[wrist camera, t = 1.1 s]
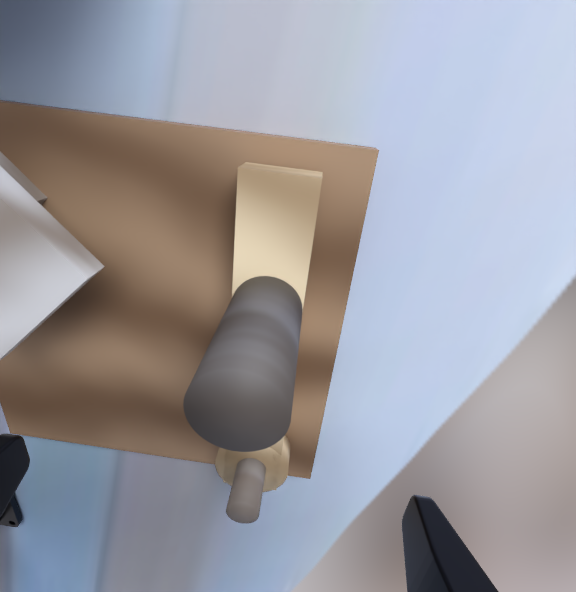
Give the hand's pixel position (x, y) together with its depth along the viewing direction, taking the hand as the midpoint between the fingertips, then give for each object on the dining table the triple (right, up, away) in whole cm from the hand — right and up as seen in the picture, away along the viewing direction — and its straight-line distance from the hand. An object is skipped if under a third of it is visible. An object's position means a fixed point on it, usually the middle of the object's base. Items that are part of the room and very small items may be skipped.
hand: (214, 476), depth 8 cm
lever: (+1, +1, +10) cm, 10 cm away
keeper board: (-5, +3, +11) cm, 13 cm away
